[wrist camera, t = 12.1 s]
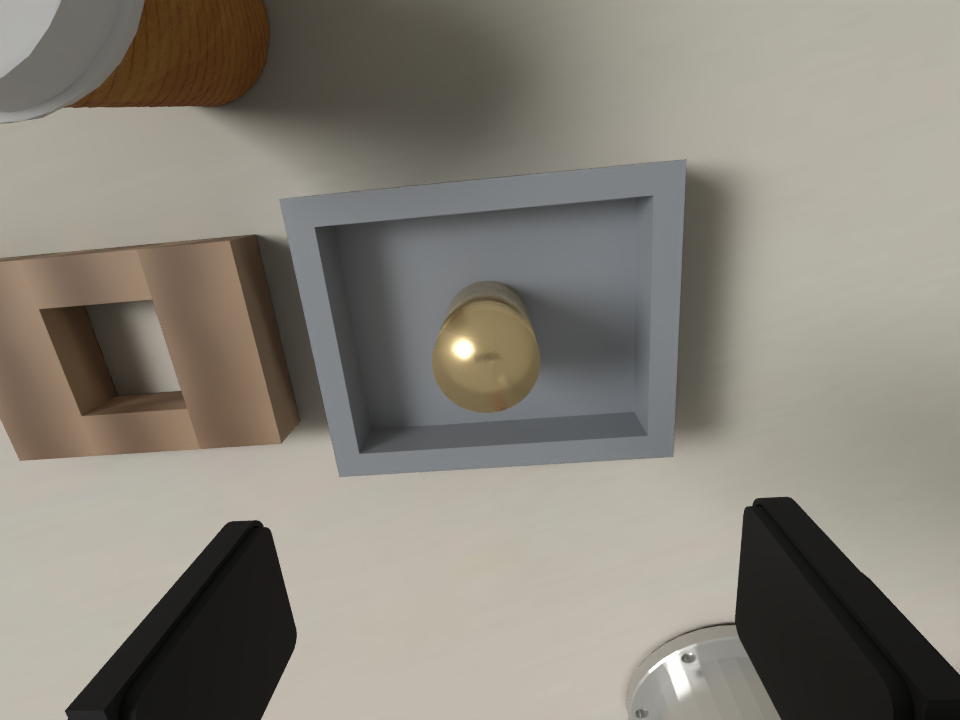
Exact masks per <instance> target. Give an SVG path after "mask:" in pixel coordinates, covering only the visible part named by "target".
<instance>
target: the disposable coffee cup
mask: <svg viewBox="0 0 960 720" xmlns="http://www.w3.org/2000/svg"><path fill="white" fill-rule="evenodd" d="M268 45H269V25H268V19H267V13H266V8H265V5H264V2H263V0H0V123H13V122H19V121H26V120H32V119H38V118H43V117H45V116H47V115H49V114H51V113H53V112H55V111H57V110H59V109H61V108H66V107H73V108H80V107H89V108H92V107H148V106H149V107H164V106H168V107H172V106H178V107H179V106H203V107H207V106H220V105H223V104H226V103H229V102H232V101H234V100H236V99H238V98H239V97H241V96H243V95H244V94H245V93H246V92H247V91H248V90H249V89H250V88H251V87H252V86H253V85H254V83H255V82H256V80H257V79H258V77H259V76H260V74H261V72H262V69H263V67H264V64H265V62H266V57H267V51H268Z"/></svg>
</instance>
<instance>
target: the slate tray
mask: <svg viewBox="0 0 960 720" xmlns="http://www.w3.org/2000/svg"><path fill="white" fill-rule="evenodd" d="M685 180H686V159H685V160H674V161H662V162H652V163H642V164H631V165H621V166H611V167H601V168H590V169H580V170H570V171H560V172H549V173H539V174H529V175H519V176H508V177H498V178H488V179H478V180H467V181H457V182H447V183H437V184H426V185H416V186H406V187H396V188H386V189H375V190H365V191H355V192H345V193H334V194H324V195H314V196H304V197H295V198H285V199H279V201H280V205H281V210H282V215H283V219H284V224H285V228H286V233H287V238H288V242H289V247H290V251H291V256H292V261H293V265H294V270H295V274H296V279H297V284H298V288H299V293H300V297H301V302H302V307H303V311H304V316H305V320H306V325H307V330H308V334H309V339H310V344H311V348H312V353H313V357H314V362H315V367H316V371H317V376H318V380H319V385H320V390H321V394H322V399H323V403H324V408H325V413H326V417H327V422H328V426H329V431H330V436H331V440H332V445H333V449H334V454H335V459H336V463H337V468H338V472H339V477H347V476H363V475H380V474H396V473H413V472H429V471H446V470H463V469H479V468H496V467H512V466H529V465H545V464H562V463H578V462H595V461H612V460H628V459H645V458H661V457H673V452H674V429H675V407H676V384H677V361H678V339H679V316H680V293H681V271H682V248H683V226H684V203H685ZM481 281H495V282H500V283H503V284H505V285H507V286H509V287H511V288H512V289H514V290H515V291H516V292H517V293H518V294H519V295H520V296H521V297H522V299H523V300H524V302H525V304H526V306H527V309H528V312H529V316H530V320H531V323H532V327H533V330H534V334H535V338H536V341H537V345H538V348H539V352H540V371H539V375H538V379H537V381H536V383H535V385H534V387H533V388H532V390H531V391H530V393H529V394H528V395H527V396H526V397H525V398H524V399H523V400H522V401H520V402H519V403H518V404H516V405H514V406H513V407H511V408H508V409H506V410H503V411H499V412H493V413H480V412H474V411H470V410H467V409H464V408H462V407H460V406H458V405H457V404H455V403H454V402H452V401H451V400H450V399H449V398H447V396H446V395H445V394H444V393H443V392H442V391H441V389H440V388H439V386H438V384H437V382H436V380H435V377H434V374H433V370H432V353H433V348H434V345H435V343H436V340H437V337H438V335H439V332H440V329H441V327H442V324H443V321H444V319H445V316H446V314H447V311H448V308H449V306H450V304H451V302H452V300H453V299H454V297H455V296H456V295H457V294H458V293H459V292H460V291H461V290H462V289H463V288H465V287H467V286H468V285H471V284H473V283H476V282H481Z"/></svg>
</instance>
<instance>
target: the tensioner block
mask: <svg viewBox="0 0 960 720" xmlns="http://www.w3.org/2000/svg"><path fill="white" fill-rule="evenodd" d="M140 300H153V303H154V307H155V310H156V313H157V316H158V319H159V322H160V325H161V328H162V332H163V335H164V338H165V341H166V344H167V347H168V350H169V353H170V357H171V360H172V363H173V366H174V369H175V372H176V375H177V378H178V382H179V385H180V388H181V391H175V392H161V393H147V394H134V395H120V396H117V394H116V391H115V388H114V386H113V383H112V380H111V378H110V375H109V372H108V369H107V367H106V364H105V361H104V358H103V356H102V353H101V350H100V348H99V345H98V342H97V339H96V337H95V334H94V331H93V329H92V326H91V323H90V320H89V318H88V315H87V312H86V310H85V307H84V305H94V304H105V303H117V302H129V301H140ZM0 419H1V421H2V423H3V425H4V427H5V430H6V432H7V434H8V436H9V438H10V440H11V443H12V445H13V447H14V449H15V451H16V453H17V456H18V458H19V460H20V461H22V460H38V459H53V458H68V457H84V456H99V455H114V454H130V453H145V452H160V451H176V450H191V449H206V448H222V447H237V446H252V445H268V444H281V443H282V442H283V441H284V440H285V438H286V437H287V436H288V435H289V434H290V432H291V431H292V430H293V429H294V427H295V426H296V425H297V424H298V422H299V421H300V419H299V415H298V411H297V407H296V403H295V398H294V394H293V390H292V386H291V382H290V377H289V373H288V369H287V365H286V361H285V356H284V352H283V348H282V344H281V339H280V335H279V331H278V327H277V323H276V318H275V314H274V310H273V306H272V302H271V297H270V293H269V289H268V285H267V281H266V276H265V272H264V268H263V264H262V260H261V255H260V251H259V247H258V243H257V239H256V234H255V235H245V236H234V237H223V238H213V239H202V240H191V241H180V242H170V243H159V244H148V245H137V246H127V247H116V248H105V249H95V250H84V251H73V252H62V253H52V254H41V255H30V256H19V257H9V258H0Z"/></svg>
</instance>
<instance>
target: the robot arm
mask: <svg viewBox="0 0 960 720" xmlns="http://www.w3.org/2000/svg"><path fill="white" fill-rule="evenodd" d="M735 623H736V625H724V626H715V627H709V628H704V629H699V630H696V631H693V632H690V633H687V634H684V635H681V636H679V637H677V638H675V639H673V640H671V641H669V642H667V643H665V644H664V645H663V646H661V647H660V648H658V649H657V650H656V651H654V652H653V653H651V654H650V655H649V656H648V657H647V658H646V659H645V660H644V662H643V663H642V664H641V665H640V666H639V667H638V669H637V670H636V672H635V673H634V675H633V677H632V678H631V681H630V684H629V687H628V690H627V699H626V705H627V710H628V716H629V720H960V675H959V674H958V673H957V671H956V670H955V669H954V668H953V667H952V666H951V665H950V664H949V663H948V662H947V661H946V660H945V659H944V658H943V657H942V655H941V654H940V653H939V652H938V651H937V650H936V649H935V648H934V647H933V646H932V645H931V644H930V643H929V642H928V641H927V639H926V638H925V637H924V636H923V635H922V634H921V633H920V632H919V631H918V630H917V629H916V628H915V627H914V626H913V625H912V623H911V622H910V621H909V620H908V619H907V618H906V617H905V616H904V615H903V614H902V613H901V612H900V611H899V610H898V609H897V608H896V606H895V605H894V604H893V603H892V602H891V601H890V600H889V599H888V598H887V597H886V596H885V595H884V594H883V593H882V592H881V590H880V589H879V588H878V587H877V586H876V585H875V584H874V583H873V582H872V581H871V580H870V579H869V578H868V577H867V576H866V575H864V574H863V573H862V572H860V571H859V569H858V568H857V567H856V566H855V565H854V564H853V563H852V562H851V561H850V560H849V559H848V558H847V557H846V556H845V554H844V553H843V552H842V551H841V550H840V549H839V548H838V547H837V546H836V545H835V544H834V543H833V542H832V541H831V539H830V538H829V537H828V536H827V535H826V534H825V533H824V532H823V531H822V530H821V529H820V528H819V527H818V525H817V524H816V523H815V522H814V521H813V520H812V519H811V518H810V517H809V516H808V515H807V514H806V513H805V512H804V510H803V509H802V508H801V507H800V506H799V505H798V504H797V503H796V502H795V501H794V500H793V499H792V498H790V497H773V498H757V499H755V500H754V502H753V506H749V507H746V508H745V510H744V515H743V527H742V540H741V552H740V564H739V577H738V589H737V601H736V614H735ZM296 638H297V632H296V627H295V623H294V619H293V615H292V611H291V607H290V603H289V599H288V595H287V591H286V588H285V584H284V580H283V576H282V572H281V568H280V564H279V560H278V556H277V552H276V549H275V545H274V541H273V537H272V533H271V531H270V529H269V528H267V527H264V526H263V524H262V523H261V522H260V521H257V520H254V521H232V522H228V523H227V524H226V525H225V526H224V527H223V528H222V529H221V531H220V532H219V533H218V534H217V535H216V536H215V538H214V539H213V540H212V541H211V542H210V543H209V544H208V546H207V547H206V548H205V549H204V550H203V551H202V553H201V554H200V555H199V556H198V557H197V558H196V560H195V561H194V562H193V563H192V564H191V565H190V567H189V568H188V569H187V570H186V571H185V572H184V573H183V575H182V576H181V577H180V578H179V579H178V580H177V582H176V583H175V584H174V585H173V586H172V587H171V589H170V590H169V591H168V592H167V593H166V594H165V595H164V597H163V598H162V599H161V600H160V601H159V602H158V604H157V605H156V606H155V607H154V608H153V609H152V611H151V612H150V613H149V614H148V615H147V616H146V618H145V619H144V620H143V621H142V622H141V623H140V624H139V626H138V627H137V628H136V629H135V630H134V631H133V633H132V634H131V635H130V636H129V637H128V638H127V640H126V641H125V642H124V643H123V644H122V645H121V646H120V648H119V649H118V650H117V651H116V652H115V653H114V655H113V656H112V657H111V658H110V659H109V660H108V662H107V663H106V664H105V665H104V666H103V667H102V669H101V670H100V671H99V672H98V673H97V674H96V675H95V677H94V678H93V679H92V680H91V681H90V682H89V684H88V685H87V686H86V687H85V688H84V689H83V691H82V692H81V693H80V694H79V695H78V696H77V697H76V699H75V700H74V701H73V702H72V703H71V704H70V706H69V707H68V708H67V709H66V710H65V712H66V714H67V716H68V720H261V718H262V716H263V714H264V712H265V710H266V708H267V705H268V703H269V701H270V699H271V697H272V695H273V693H274V691H275V689H276V687H277V684H278V682H279V680H280V678H281V676H282V674H283V672H284V670H285V668H286V665H287V663H288V661H289V659H290V657H291V655H292V653H293V650H294V648H295V644H296Z"/></svg>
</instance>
